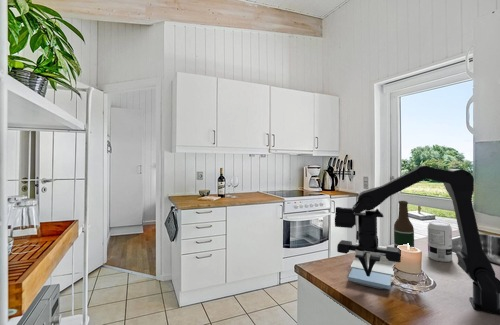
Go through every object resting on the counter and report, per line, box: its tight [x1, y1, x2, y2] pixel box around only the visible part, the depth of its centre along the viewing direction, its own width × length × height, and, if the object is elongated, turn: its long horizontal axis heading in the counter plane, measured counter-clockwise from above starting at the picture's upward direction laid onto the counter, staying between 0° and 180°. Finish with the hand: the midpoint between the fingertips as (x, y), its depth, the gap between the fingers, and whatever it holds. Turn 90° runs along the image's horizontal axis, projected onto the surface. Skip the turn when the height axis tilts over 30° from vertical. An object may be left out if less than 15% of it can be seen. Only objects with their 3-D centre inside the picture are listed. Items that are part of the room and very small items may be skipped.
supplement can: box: [427, 221, 453, 263], centre depth 106 cm, size 8×8×15 cm
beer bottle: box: [393, 200, 415, 248], centre depth 111 cm, size 8×8×24 cm
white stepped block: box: [350, 242, 396, 278], centre depth 95 cm, size 14×14×8 cm
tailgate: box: [348, 268, 392, 290], centre depth 86 cm, size 2×13×8 cm
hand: (368, 276), depth 83 cm, fingers closed
